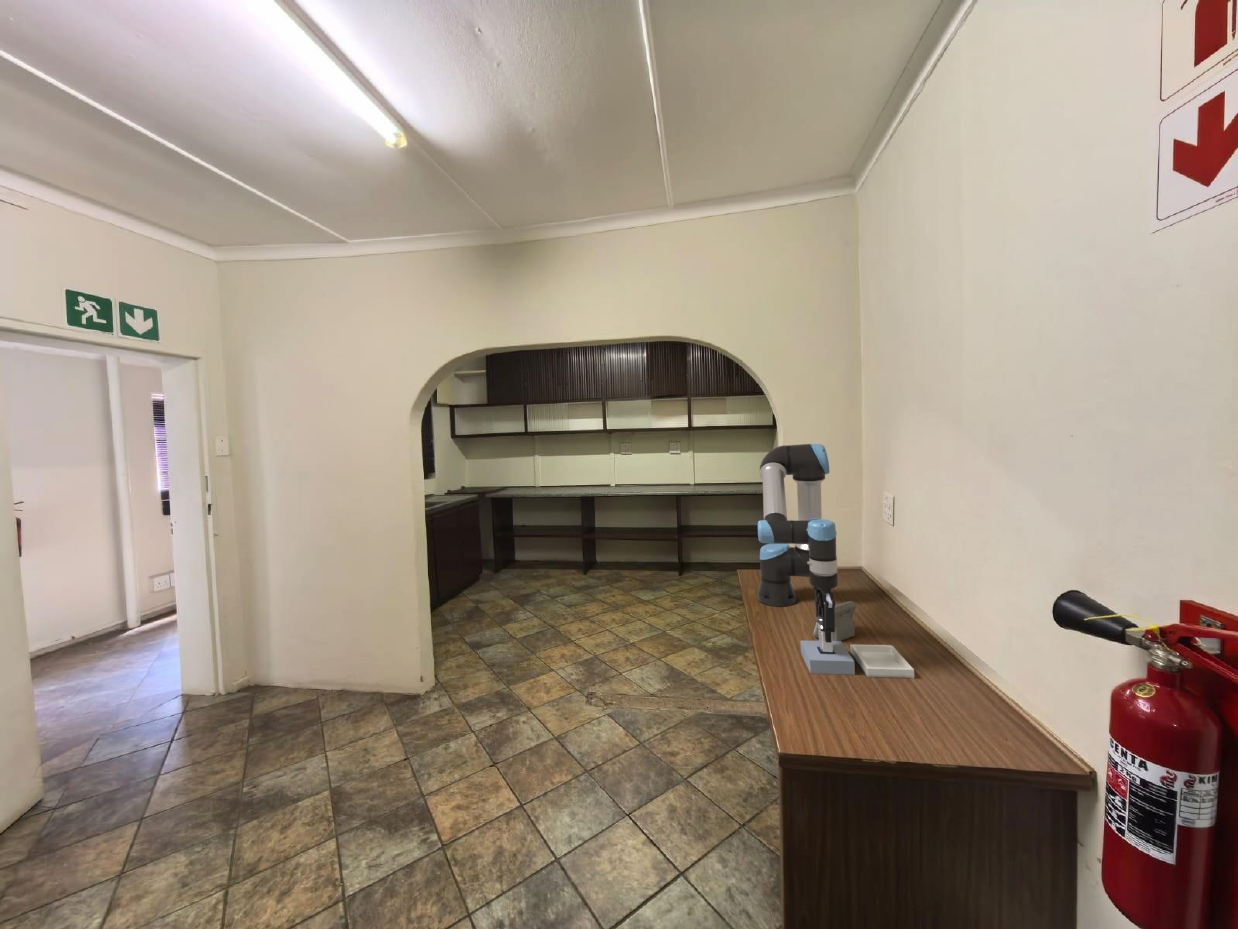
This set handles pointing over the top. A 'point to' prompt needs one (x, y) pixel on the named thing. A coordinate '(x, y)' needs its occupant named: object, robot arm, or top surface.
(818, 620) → the pin
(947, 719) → the top surface
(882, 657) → the tray
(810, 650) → the socket block
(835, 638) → the digital clock
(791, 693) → the top surface
